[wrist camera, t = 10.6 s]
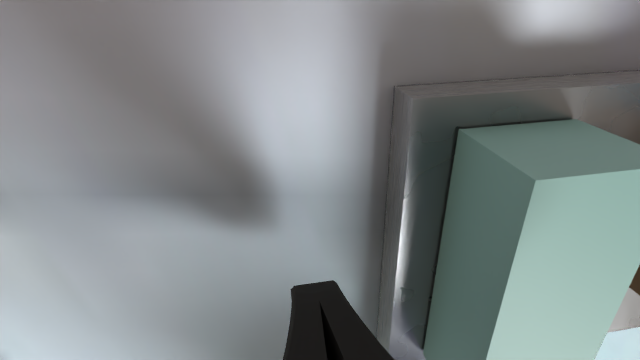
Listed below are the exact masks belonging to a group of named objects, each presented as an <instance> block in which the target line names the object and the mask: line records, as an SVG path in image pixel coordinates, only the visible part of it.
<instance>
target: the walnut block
mask: <svg viewBox="0 0 640 360" xmlns="http://www.w3.org/2000/svg"><path fill="white" fill-rule="evenodd" d="M629 288H631V289H632V290H633V291H634V292H636V293H637V294H638V295H639V296H640V265H639V267H638V269H637V271H636V273H635V275H634V278H633V280H632V282H631V284H630V286H629Z"/></svg>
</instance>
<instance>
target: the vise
mask: <svg viewBox="0 0 640 360" xmlns="http://www.w3.org/2000/svg"><path fill="white" fill-rule="evenodd" d="M572 119H577V120H580V121H582V122H585V123H587V124H590V125H592V126H595V127H597V128H600V129H602V130H605V131H607V132H610V133H612V134H615V135H617V136H620V137H622V138H625V139H627V140H630V141H632V142H635V143H637V144H640V70H639V71H623V72H608V73H593V74H577V75H562V76H547V77H531V78H516V79H501V80H486V81H470V82H455V83H440V84H424V85H409V86H395V89H394V103H393V117H392V131H391V145H390V159H389V172H388V186H387V200H386V214H385V228H384V242H383V256H382V270H381V284H380V298H379V312H378V326H377V340H378V341H379V342H380V344H381V345H382V346H383V347H384V348H385V349H386V350H387V352H388V353H389V354H390V355H391V356H392V357H393V358H394V359H395V360H426V358H425V356H424V354H423V351H424V345H425V338H426V332H427V326H428V319H429V313H430V307H431V300H432V294H433V288H434V282H435V275H436V269H437V263H438V256H439V250H440V244H441V238H442V231H443V225H444V219H445V212H446V206H447V200H448V193H449V187H450V181H451V175H452V168H453V162H454V156H455V149H456V143H457V137H458V131H459V129H467V128H479V127H490V126H502V125H514V124H525V123H537V122H549V121H561V120H572ZM635 327H640V296H639V295H638V294H637V293H636V292H634V291H633V290H632V289H631V288H628V290H627V292H626V294H625V296H624V298H623V301H622V303H621V305H620V307H619V309H618V311H617V313H616V315H615V317H614V319H613V321H612V324H611V326H610V328H609V330H608V332H614V331H619V330H625V329H630V328H635ZM608 332H607V333H608Z"/></svg>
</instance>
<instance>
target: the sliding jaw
mask: <svg viewBox="0 0 640 360" xmlns="http://www.w3.org/2000/svg"><path fill="white" fill-rule="evenodd" d="M639 265H640V144H637V143H635V142H632V141H630V140H627V139H625V138H622V137H620V136H617V135H615V134H612V133H610V132H607V131H605V130H602V129H600V128H597V127H595V126H592V125H590V124H587V123H585V122H582V121H580V120H577V119H572V120H561V121H549V122H537V123H525V124H514V125H502V126H490V127H479V128H467V129H459V131H458V137H457V143H456V149H455V156H454V162H453V168H452V175H451V181H450V187H449V193H448V200H447V206H446V212H445V219H444V225H443V231H442V238H441V244H440V250H439V256H438V263H437V269H436V275H435V282H434V288H433V294H432V300H431V307H430V313H429V319H428V326H427V332H426V338H425V345H424V351H423V354H424V356H425V358H426V360H594V359H595V357H596V355H597V353H598V351H599V349H600V347H601V345H602V342H603V340H604V338H605V336H606V334H607V332H608V330H609V328H610V326H611V324H612V321H613V319H614V317H615V315H616V313H617V311H618V309H619V307H620V305H621V303H622V301H623V298H624V296H625V294H626V292H627V290H628V288H629V286H630V284H631V282H632V280H633V278H634V275H635V273H636V271H637V269H638V267H639Z"/></svg>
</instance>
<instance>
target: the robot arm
mask: <svg viewBox="0 0 640 360" xmlns="http://www.w3.org/2000/svg"><path fill="white" fill-rule="evenodd" d="M291 298H292V308H291V318H290V326H289V332H288V338H287V343H286V348H285V353H284V357H283V360H395V359H394V358H393V357H392V356H391V355H390V354H389V353H388V352H387V350H386V349H385V348H384V347H383V346H382V345H381V344H380V342H379V341H378V340H377V339H376V338H375V337H374V335H373V334H372V333H371V332H370V330H369V329H368V328H367V327H366V325H365V324H364V323H363V321H362V320H361V319H360V318H359V316H358V315H357V314H356V312H355V311H354V309H353V308H352V306H351V305H350V304H349V302H348V301H347V299H346V298H345V296H344V295H343V293H342V291H341V290H340V288H339V286H338V285H337V283H336V282H335V281H333V280H332V281H325V282H318V283H311V284H304V285H297V286H294V287H293V288H292V289H291Z"/></svg>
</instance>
